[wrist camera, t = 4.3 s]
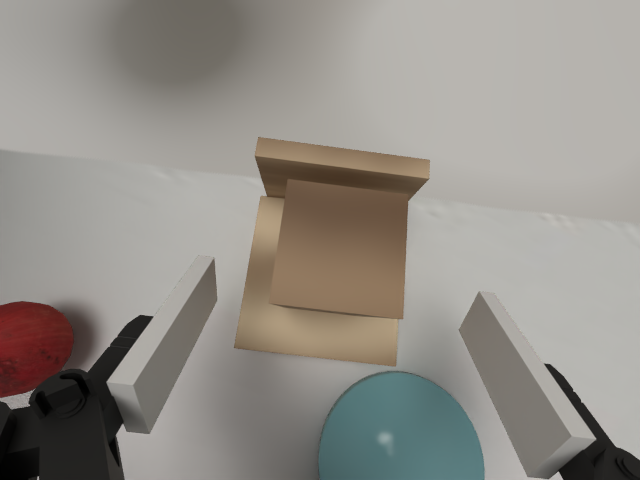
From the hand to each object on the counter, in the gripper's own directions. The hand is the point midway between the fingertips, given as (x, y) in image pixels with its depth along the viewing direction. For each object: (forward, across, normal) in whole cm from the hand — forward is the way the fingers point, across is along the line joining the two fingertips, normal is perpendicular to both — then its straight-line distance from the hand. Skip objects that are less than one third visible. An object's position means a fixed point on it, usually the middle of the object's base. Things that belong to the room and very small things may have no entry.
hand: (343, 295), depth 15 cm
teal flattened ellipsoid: (0, +6, -15) cm, 16 cm away
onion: (+3, -20, -11) cm, 23 cm away
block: (+6, -1, -3) cm, 6 cm away
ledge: (+8, -1, -6) cm, 10 cm away
